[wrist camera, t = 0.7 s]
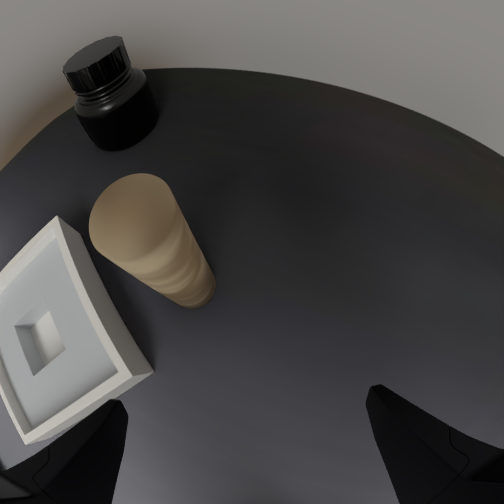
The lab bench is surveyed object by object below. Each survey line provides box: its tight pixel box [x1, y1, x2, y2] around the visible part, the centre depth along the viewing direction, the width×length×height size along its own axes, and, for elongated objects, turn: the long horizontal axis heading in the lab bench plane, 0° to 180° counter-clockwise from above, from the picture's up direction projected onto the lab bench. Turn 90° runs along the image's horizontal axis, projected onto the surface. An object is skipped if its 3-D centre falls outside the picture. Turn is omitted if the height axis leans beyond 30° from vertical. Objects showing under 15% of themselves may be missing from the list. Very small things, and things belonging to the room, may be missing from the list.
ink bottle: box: [63, 36, 158, 151], centre depth 24 cm, size 10×9×12 cm
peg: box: [89, 173, 216, 309], centre depth 17 cm, size 4×4×13 cm
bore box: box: [0, 216, 154, 445], centre depth 19 cm, size 16×16×4 cm
